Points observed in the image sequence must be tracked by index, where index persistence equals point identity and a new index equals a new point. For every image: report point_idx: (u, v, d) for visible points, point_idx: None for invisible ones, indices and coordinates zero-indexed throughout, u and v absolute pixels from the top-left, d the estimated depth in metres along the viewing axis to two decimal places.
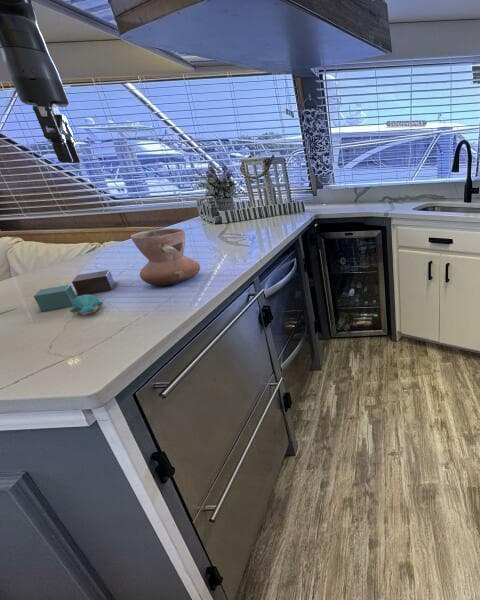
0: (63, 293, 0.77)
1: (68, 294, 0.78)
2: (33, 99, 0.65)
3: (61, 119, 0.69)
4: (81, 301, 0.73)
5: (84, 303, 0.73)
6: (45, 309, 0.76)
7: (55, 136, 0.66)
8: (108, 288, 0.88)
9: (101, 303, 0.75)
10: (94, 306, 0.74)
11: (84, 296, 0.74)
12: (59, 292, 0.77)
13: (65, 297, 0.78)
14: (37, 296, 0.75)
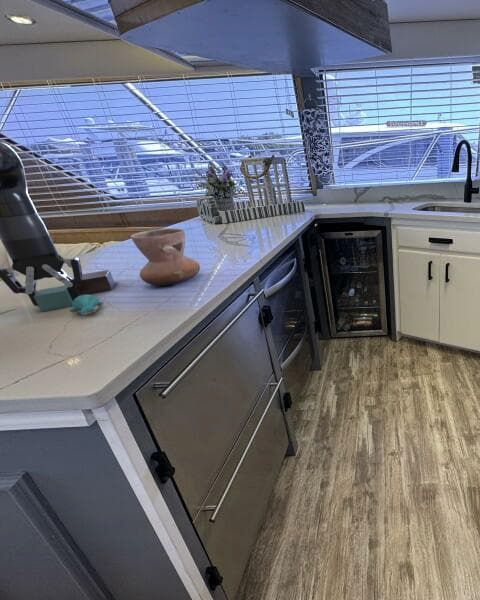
0: (63, 293, 0.77)
1: (68, 294, 0.78)
2: None
3: (26, 272, 0.73)
4: (81, 301, 0.73)
5: (84, 303, 0.73)
6: (45, 309, 0.76)
7: None
8: (108, 288, 0.88)
9: (101, 303, 0.75)
10: (94, 306, 0.74)
11: (84, 296, 0.74)
12: (59, 292, 0.77)
13: (65, 297, 0.78)
14: (37, 296, 0.75)
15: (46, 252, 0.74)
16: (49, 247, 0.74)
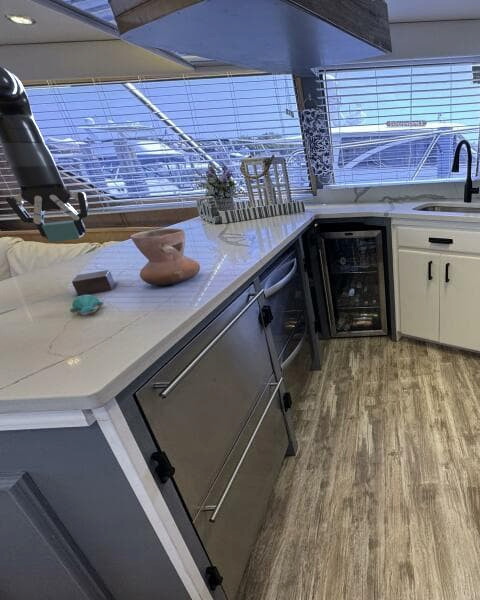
0: (70, 225, 0.79)
1: (75, 227, 0.80)
2: None
3: (34, 201, 0.75)
4: (81, 301, 0.73)
5: (84, 303, 0.73)
6: (53, 240, 0.78)
7: None
8: (108, 288, 0.88)
9: (101, 303, 0.75)
10: (94, 306, 0.74)
11: (84, 296, 0.74)
12: (66, 224, 0.79)
13: (72, 229, 0.80)
14: (45, 226, 0.77)
15: (53, 182, 0.76)
16: (56, 178, 0.76)
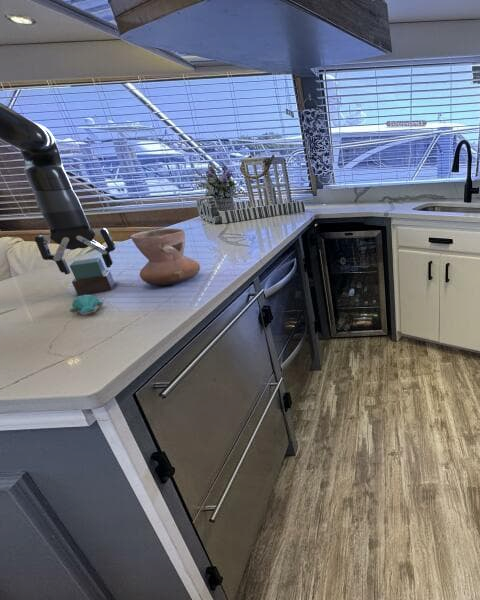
0: (95, 263, 0.86)
1: (99, 265, 0.87)
2: None
3: (61, 241, 0.81)
4: (81, 301, 0.73)
5: (84, 303, 0.73)
6: (79, 278, 0.85)
7: None
8: (108, 288, 0.88)
9: (101, 303, 0.75)
10: (94, 306, 0.74)
11: (84, 296, 0.74)
12: (91, 263, 0.85)
13: (96, 268, 0.86)
14: (72, 266, 0.83)
15: (80, 224, 0.82)
16: (83, 220, 0.82)
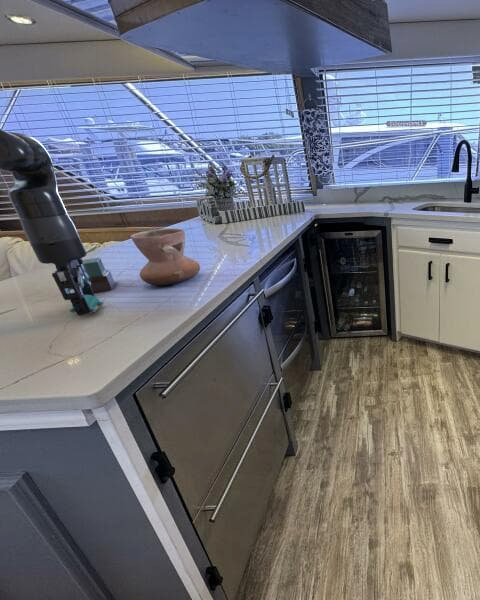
0: (95, 263, 0.86)
1: (99, 265, 0.87)
2: (52, 262, 0.66)
3: (79, 273, 0.70)
4: None
5: None
6: None
7: (74, 296, 0.67)
8: (108, 288, 0.88)
9: (101, 303, 0.75)
10: (94, 306, 0.74)
11: (84, 296, 0.74)
12: (91, 263, 0.85)
13: (97, 268, 0.86)
14: None
15: None
16: None
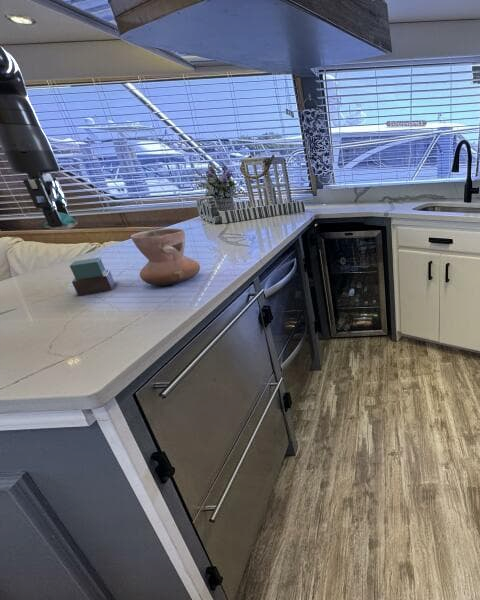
0: (95, 264, 0.86)
1: (99, 265, 0.87)
2: (24, 170, 0.69)
3: (51, 186, 0.72)
4: None
5: None
6: (79, 278, 0.85)
7: (45, 205, 0.70)
8: (108, 288, 0.88)
9: (75, 221, 0.78)
10: (68, 223, 0.76)
11: (59, 213, 0.76)
12: (91, 263, 0.85)
13: (97, 268, 0.86)
14: (72, 266, 0.83)
15: None
16: None
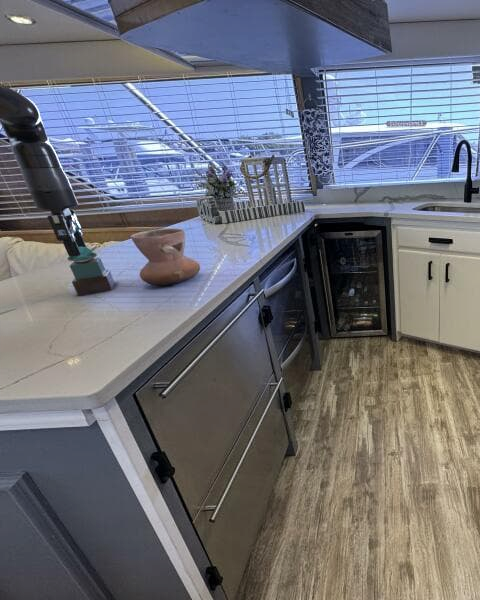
0: (95, 263, 0.86)
1: (99, 265, 0.87)
2: (48, 208, 0.77)
3: (71, 220, 0.81)
4: None
5: None
6: (79, 278, 0.85)
7: (66, 238, 0.78)
8: (108, 288, 0.88)
9: (94, 254, 0.87)
10: (88, 256, 0.86)
11: (80, 247, 0.85)
12: (91, 263, 0.85)
13: (96, 268, 0.86)
14: (72, 266, 0.83)
15: None
16: None
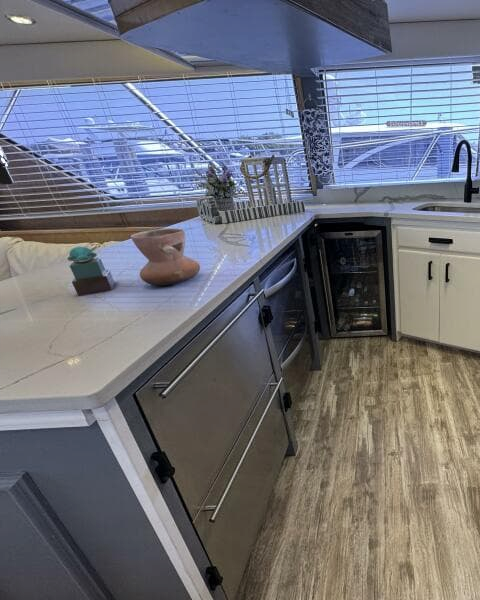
0: (95, 263, 0.86)
1: (99, 265, 0.87)
2: None
3: None
4: (77, 251, 0.84)
5: (80, 253, 0.84)
6: (79, 278, 0.85)
7: None
8: (108, 288, 0.88)
9: (94, 254, 0.87)
10: (88, 256, 0.86)
11: (80, 247, 0.85)
12: (91, 263, 0.85)
13: (96, 268, 0.86)
14: (72, 266, 0.83)
15: None
16: None
